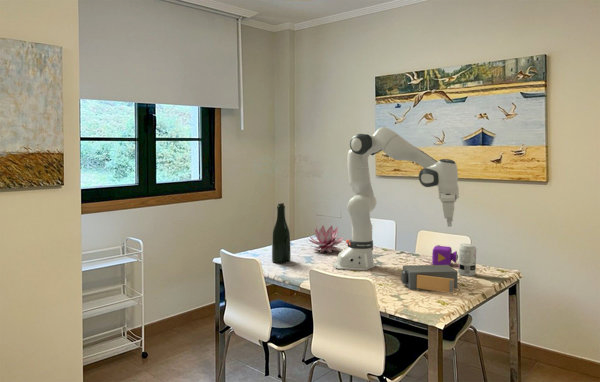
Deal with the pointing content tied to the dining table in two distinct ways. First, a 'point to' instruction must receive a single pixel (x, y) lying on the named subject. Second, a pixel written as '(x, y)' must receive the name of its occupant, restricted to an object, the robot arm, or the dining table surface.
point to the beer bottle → (281, 237)
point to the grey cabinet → (427, 274)
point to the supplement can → (467, 260)
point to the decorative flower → (326, 239)
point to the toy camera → (443, 255)
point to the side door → (435, 283)
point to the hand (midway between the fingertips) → (450, 223)
